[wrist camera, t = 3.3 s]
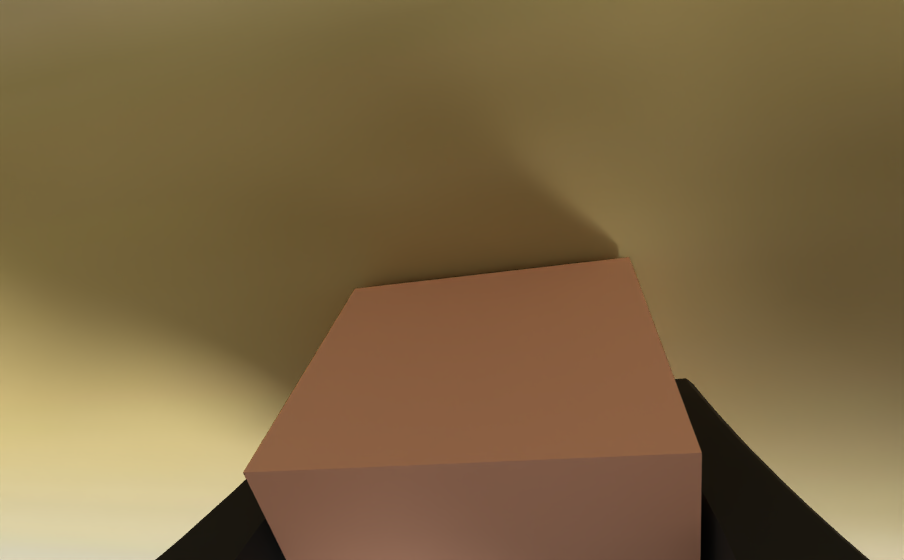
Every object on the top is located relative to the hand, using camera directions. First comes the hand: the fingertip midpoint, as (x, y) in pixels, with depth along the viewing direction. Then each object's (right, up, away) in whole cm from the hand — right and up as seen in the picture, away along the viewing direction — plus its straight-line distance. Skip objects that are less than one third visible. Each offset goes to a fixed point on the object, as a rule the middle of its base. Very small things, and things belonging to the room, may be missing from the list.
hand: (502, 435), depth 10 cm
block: (0, +1, +1) cm, 1 cm away
